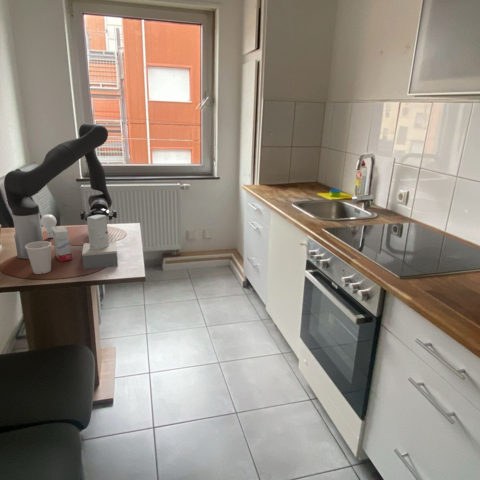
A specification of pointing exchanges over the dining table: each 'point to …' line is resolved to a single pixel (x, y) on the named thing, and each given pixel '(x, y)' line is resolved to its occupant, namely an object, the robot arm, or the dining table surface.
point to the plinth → (99, 256)
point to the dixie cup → (40, 256)
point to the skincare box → (97, 231)
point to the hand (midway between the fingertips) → (98, 218)
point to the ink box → (62, 243)
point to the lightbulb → (48, 224)
